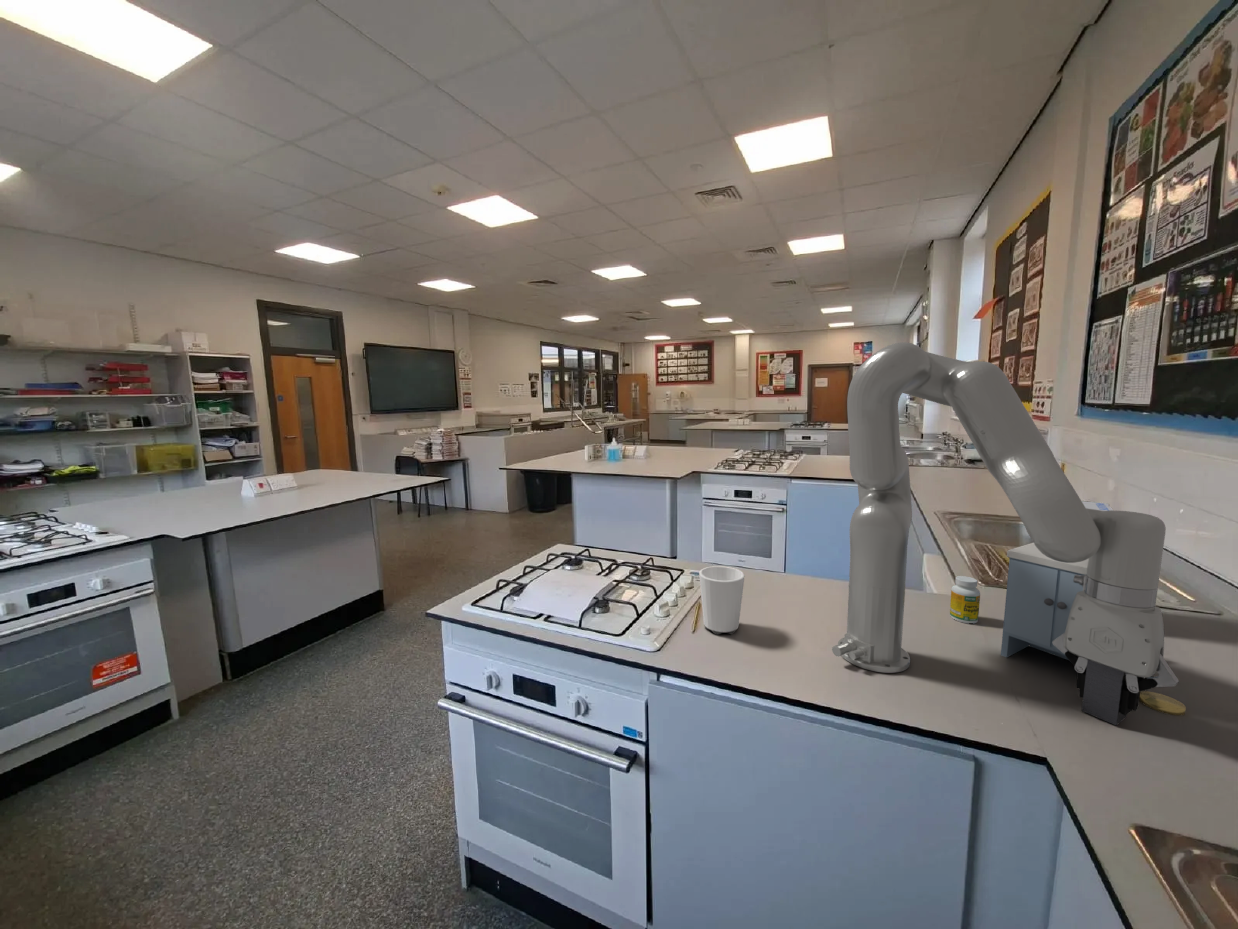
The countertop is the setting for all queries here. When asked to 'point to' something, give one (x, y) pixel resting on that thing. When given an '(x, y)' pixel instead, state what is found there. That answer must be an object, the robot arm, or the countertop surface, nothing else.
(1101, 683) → the grey angle bar
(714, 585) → the cup
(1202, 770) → the countertop surface
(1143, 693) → the brass disc
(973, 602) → the supplement bottle
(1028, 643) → the cabinet
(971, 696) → the countertop surface
